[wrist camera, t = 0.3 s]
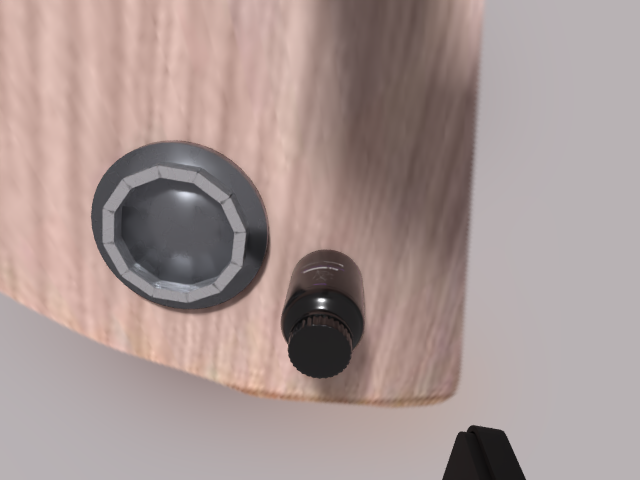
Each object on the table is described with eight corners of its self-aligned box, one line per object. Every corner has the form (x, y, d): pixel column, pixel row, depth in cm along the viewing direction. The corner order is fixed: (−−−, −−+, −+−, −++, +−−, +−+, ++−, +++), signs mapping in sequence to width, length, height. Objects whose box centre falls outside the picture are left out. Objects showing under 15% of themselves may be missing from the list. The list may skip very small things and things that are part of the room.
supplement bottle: (329, 232, 46) (324, 293, 34) (376, 283, 47) (387, 356, 36) (275, 277, 47) (255, 348, 36) (323, 323, 49) (318, 405, 38)
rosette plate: (97, 126, 43) (81, 131, 40) (279, 157, 43) (275, 164, 40) (97, 288, 49) (83, 302, 46) (258, 314, 49) (253, 330, 46)
